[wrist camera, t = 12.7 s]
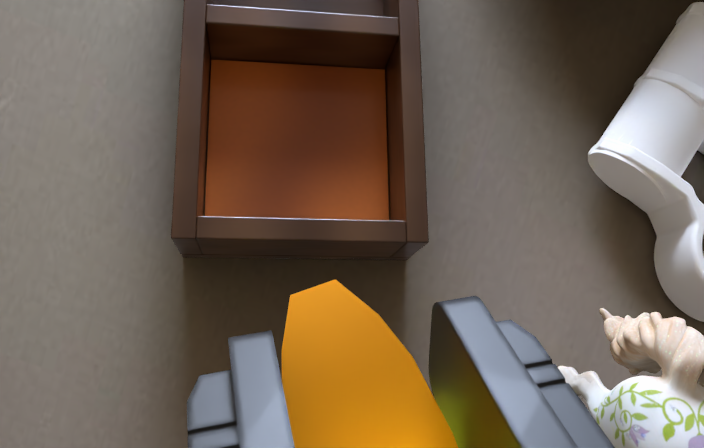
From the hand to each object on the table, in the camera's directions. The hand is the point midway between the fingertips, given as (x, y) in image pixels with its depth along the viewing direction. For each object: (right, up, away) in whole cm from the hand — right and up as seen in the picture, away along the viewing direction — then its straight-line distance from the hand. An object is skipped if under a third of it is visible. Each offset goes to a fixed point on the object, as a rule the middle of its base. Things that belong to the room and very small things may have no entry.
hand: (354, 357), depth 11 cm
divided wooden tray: (-3, +11, +23) cm, 25 cm away
